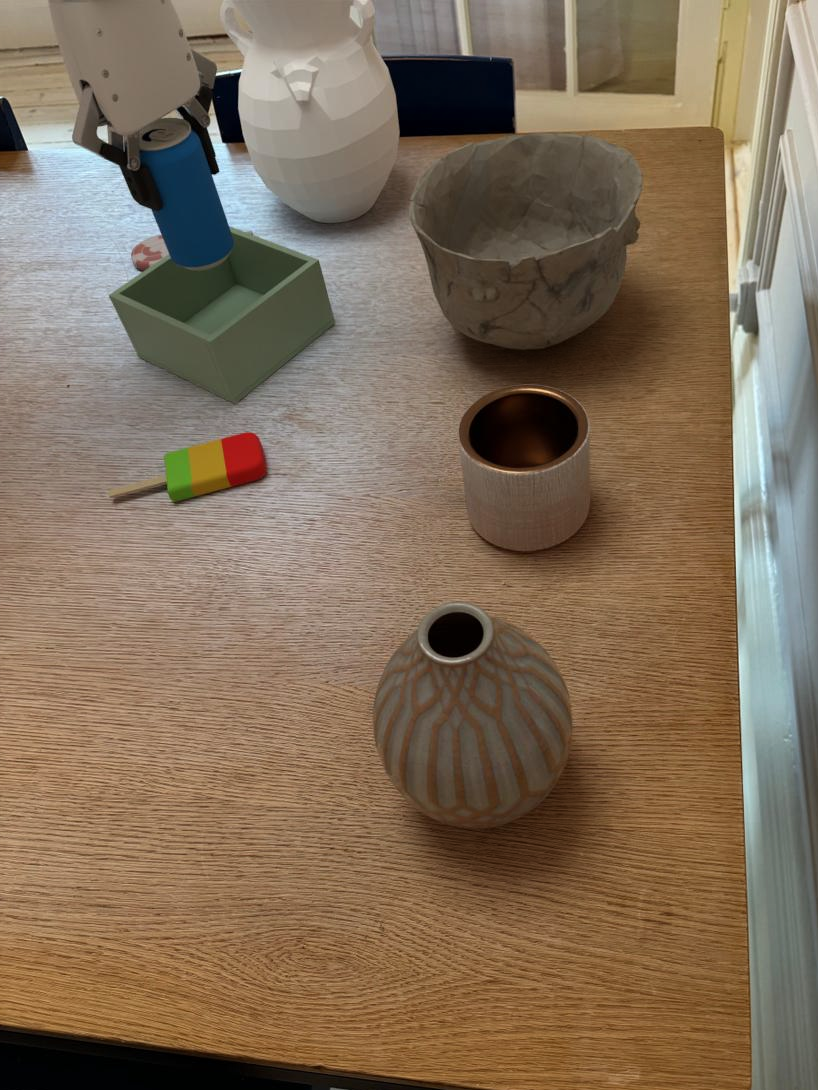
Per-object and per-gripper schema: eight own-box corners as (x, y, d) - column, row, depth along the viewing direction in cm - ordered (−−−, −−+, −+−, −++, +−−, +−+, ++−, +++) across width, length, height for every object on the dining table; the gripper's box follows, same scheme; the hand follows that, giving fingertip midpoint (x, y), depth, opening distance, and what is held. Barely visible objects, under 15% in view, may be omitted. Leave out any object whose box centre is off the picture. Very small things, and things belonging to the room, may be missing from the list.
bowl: (449, 413, 87) (428, 274, 75) (413, 289, 100) (390, 153, 87) (664, 367, 88) (677, 223, 76) (602, 250, 101) (605, 110, 88)
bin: (138, 356, 97) (108, 295, 91) (238, 283, 104) (216, 221, 97) (235, 404, 91) (210, 341, 85) (335, 323, 97) (319, 259, 91)
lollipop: (253, 242, 106) (129, 268, 105) (255, 251, 107) (133, 276, 106) (249, 215, 110) (130, 239, 109) (252, 223, 111) (133, 248, 110)
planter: (571, 455, 82) (570, 370, 74) (605, 540, 76) (608, 457, 68) (457, 481, 81) (444, 398, 74) (482, 568, 75) (471, 488, 67)
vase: (380, 717, 68) (327, 572, 53) (545, 676, 68) (536, 522, 54) (411, 878, 60) (359, 759, 46) (596, 830, 61) (601, 698, 46)
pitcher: (427, 166, 115) (395, -69, 95) (388, 246, 105) (341, 2, 85) (295, 163, 119) (236, -64, 99) (245, 239, 109) (167, 5, 89)
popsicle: (270, 478, 84) (264, 463, 82) (113, 521, 83) (104, 506, 81) (262, 441, 87) (256, 427, 86) (111, 482, 86) (103, 467, 84)
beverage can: (198, 233, 92) (153, 111, 82) (249, 244, 90) (209, 120, 80) (160, 268, 88) (108, 145, 79) (211, 280, 86) (165, 155, 77)
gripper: (147, -83, 74) (218, 138, 89) (-25, -4, 67) (83, 223, 81) (208, -72, 71) (270, 155, 86) (34, 11, 64) (135, 244, 78)
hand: (178, 186), depth 83 cm, fingers closed on beverage can, 6 cm apart
